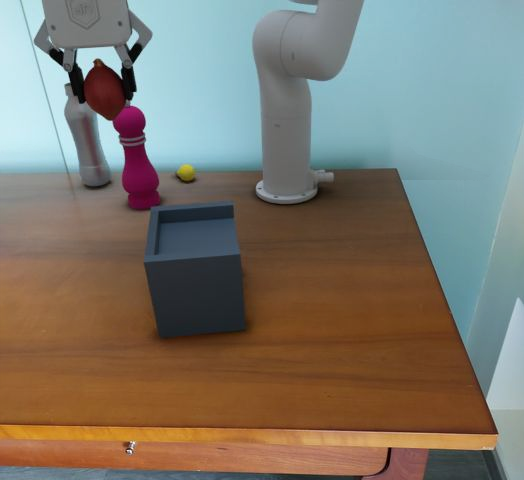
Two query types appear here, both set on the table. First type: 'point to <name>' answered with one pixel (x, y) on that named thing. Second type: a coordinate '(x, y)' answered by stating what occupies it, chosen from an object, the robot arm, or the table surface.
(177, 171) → the yellow rounded piece
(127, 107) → the pepper mill
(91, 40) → the robot arm
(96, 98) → the onion
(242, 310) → the blue storage bin
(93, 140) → the plastic bottle
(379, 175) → the table surface
